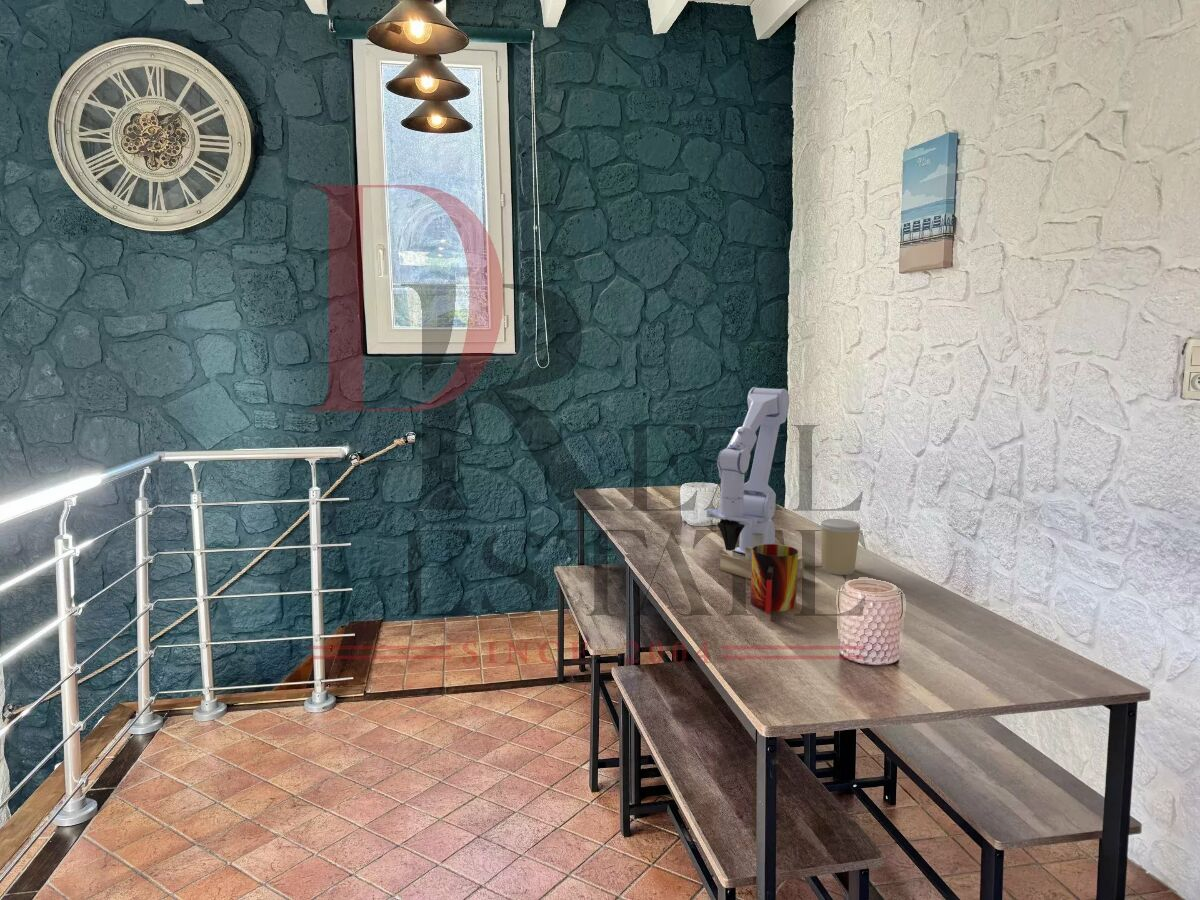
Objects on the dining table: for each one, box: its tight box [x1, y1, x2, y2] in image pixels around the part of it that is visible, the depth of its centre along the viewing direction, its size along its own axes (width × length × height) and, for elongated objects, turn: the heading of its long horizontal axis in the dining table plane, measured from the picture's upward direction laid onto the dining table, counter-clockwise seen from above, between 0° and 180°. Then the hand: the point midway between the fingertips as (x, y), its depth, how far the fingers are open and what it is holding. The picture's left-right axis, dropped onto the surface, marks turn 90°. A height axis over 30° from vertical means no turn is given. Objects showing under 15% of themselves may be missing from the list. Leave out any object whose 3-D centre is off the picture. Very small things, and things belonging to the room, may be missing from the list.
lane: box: [719, 547, 805, 581], centre depth 195 cm, size 11×17×5 cm, turn 41°
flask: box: [747, 533, 764, 562], centre depth 195 cm, size 7×7×10 cm
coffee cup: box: [820, 518, 861, 576], centre depth 198 cm, size 9×9×12 cm
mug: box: [750, 543, 799, 614], centre depth 172 cm, size 10×14×12 cm
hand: (730, 549), depth 202 cm, fingers closed
